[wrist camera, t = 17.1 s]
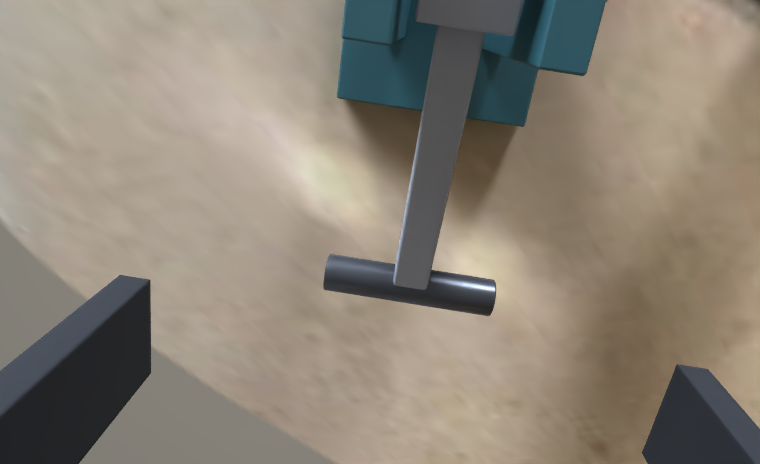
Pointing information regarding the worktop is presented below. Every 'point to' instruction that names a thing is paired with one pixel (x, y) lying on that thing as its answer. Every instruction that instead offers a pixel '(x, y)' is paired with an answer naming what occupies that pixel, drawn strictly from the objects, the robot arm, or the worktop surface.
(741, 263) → the worktop surface
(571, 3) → the teal lever stand
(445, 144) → the lever
